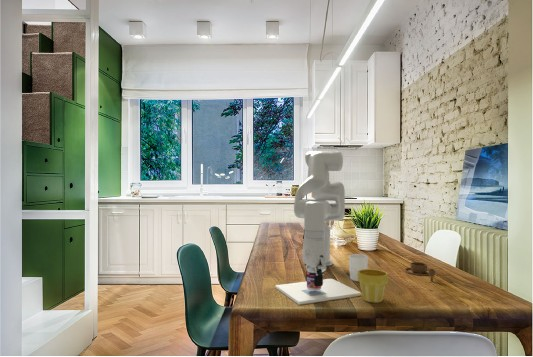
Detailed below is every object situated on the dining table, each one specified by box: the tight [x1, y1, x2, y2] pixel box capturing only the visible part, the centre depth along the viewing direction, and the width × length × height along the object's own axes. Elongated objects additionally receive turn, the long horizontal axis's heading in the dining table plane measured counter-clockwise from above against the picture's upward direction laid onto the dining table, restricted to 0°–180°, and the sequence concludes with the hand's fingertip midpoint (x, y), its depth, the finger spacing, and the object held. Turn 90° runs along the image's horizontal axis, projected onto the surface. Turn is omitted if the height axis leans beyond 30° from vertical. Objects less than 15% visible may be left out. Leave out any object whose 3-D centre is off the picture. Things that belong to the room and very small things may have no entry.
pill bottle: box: [306, 265, 321, 290], centre depth 131 cm, size 5×5×10 cm
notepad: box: [274, 278, 362, 306], centre depth 135 cm, size 20×26×1 cm
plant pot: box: [357, 268, 389, 303], centre depth 126 cm, size 10×10×10 cm
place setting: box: [398, 261, 436, 282], centre depth 159 cm, size 18×20×6 cm
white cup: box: [348, 253, 369, 282], centre depth 152 cm, size 8×8×10 cm
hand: (314, 282), depth 131 cm, fingers closed on pill bottle, 5 cm apart
